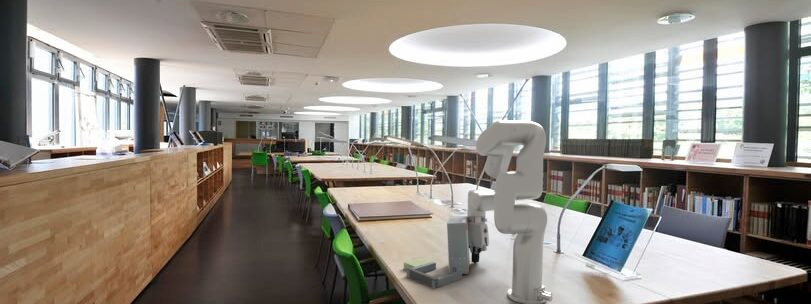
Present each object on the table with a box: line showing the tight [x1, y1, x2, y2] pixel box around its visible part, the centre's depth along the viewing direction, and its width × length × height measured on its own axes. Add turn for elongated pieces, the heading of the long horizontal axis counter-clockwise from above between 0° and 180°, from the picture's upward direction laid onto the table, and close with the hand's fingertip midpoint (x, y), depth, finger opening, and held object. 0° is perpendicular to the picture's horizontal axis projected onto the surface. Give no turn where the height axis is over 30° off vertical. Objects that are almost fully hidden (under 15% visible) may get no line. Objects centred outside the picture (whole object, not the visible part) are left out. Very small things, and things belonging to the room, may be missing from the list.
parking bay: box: [406, 261, 463, 289], centre depth 145 cm, size 15×14×3 cm
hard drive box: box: [446, 215, 471, 275], centre depth 155 cm, size 16×8×20 cm, turn 169°
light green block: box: [403, 257, 434, 271], centre depth 155 cm, size 7×10×3 cm
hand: (475, 261), depth 162 cm, fingers closed
